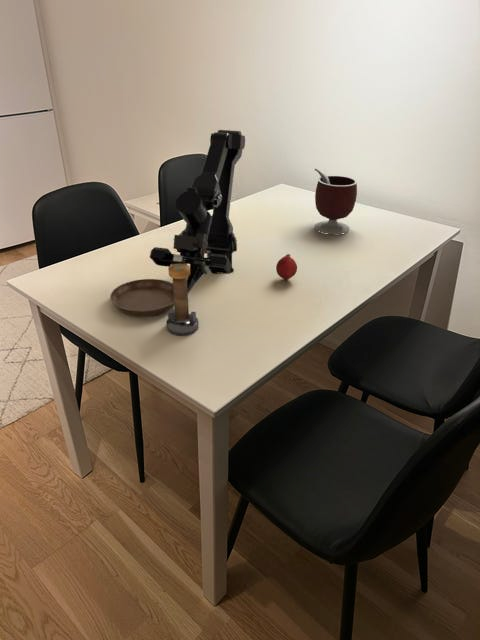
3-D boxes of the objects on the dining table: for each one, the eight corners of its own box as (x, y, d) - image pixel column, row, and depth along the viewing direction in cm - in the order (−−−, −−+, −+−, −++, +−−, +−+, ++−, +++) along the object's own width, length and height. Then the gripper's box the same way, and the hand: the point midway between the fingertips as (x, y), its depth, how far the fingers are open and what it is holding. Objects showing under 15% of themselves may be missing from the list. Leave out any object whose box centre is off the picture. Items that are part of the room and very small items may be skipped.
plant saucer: (142, 282, 139) (141, 272, 137) (194, 298, 131) (193, 288, 129) (96, 309, 126) (95, 298, 124) (151, 328, 118) (150, 318, 116)
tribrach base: (173, 317, 122) (172, 302, 120) (202, 321, 121) (202, 306, 119) (161, 333, 116) (160, 318, 114) (192, 337, 114) (192, 322, 112)
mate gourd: (357, 226, 177) (365, 170, 167) (342, 239, 167) (350, 179, 157) (318, 218, 184) (323, 163, 174) (301, 229, 174) (306, 172, 164)
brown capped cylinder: (176, 311, 119) (172, 261, 112) (195, 313, 118) (192, 263, 111) (169, 321, 115) (165, 270, 108) (188, 324, 114) (185, 273, 107)
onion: (282, 286, 137) (284, 259, 133) (271, 277, 141) (273, 251, 137) (299, 282, 139) (302, 255, 135) (288, 273, 144) (290, 248, 140)
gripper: (149, 214, 113) (134, 278, 110) (228, 222, 109) (214, 289, 106) (164, 234, 124) (150, 293, 120) (236, 242, 120) (224, 303, 117)
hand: (183, 294), depth 116 cm, fingers closed, pressing on brown capped cylinder
